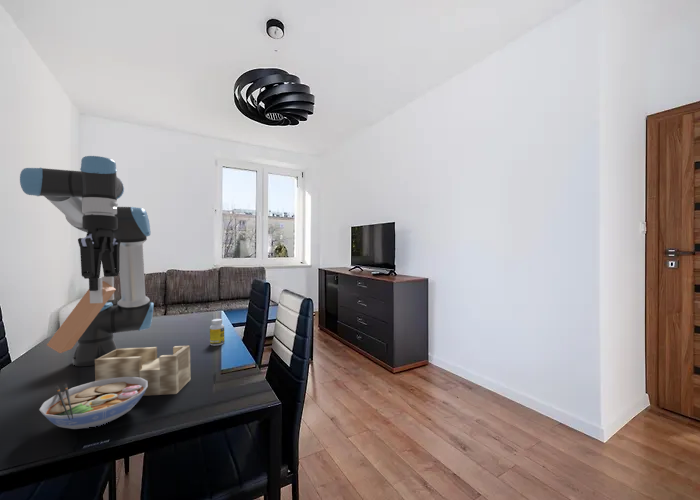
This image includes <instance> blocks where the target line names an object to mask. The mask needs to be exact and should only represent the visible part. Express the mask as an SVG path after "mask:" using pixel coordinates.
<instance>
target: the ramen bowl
mask: <svg viewBox="0 0 700 500" xmlns="http://www.w3.org/2000/svg"><path fill="white" fill-rule="evenodd" d="M147 387H148V381H147V380H145V379H142V378H139V377H118V378H109V379H104V380H99V381H95V380H94V381H90V382H87V383H83V384H80V385H77V386H74V387H71V388H69V387H68V383H64V384H63V388H64V391H61V389H60V387H59V385H55V389H56V392H57V393H56V394H55V395H53V396H52V397H50V398H48V399H46V400H44V402H43V403H42V404H41V406H40V408H38V411H40V412H41V414H42V415H43V416H44V417H45V418H46V419H47V420H48V421H49V422H50V423H51V424H53V425H55V426H57V427H59V428H63V429H70V430H79V429H90V428H89V427H95V428H97V427H96V426H98V427H101V425H102V426H104V425H106V423H107V424H108V422H109V423H111V422H112V421H114V420H117V419H118V418H120V417H122V416H123V415H125V414H127V413H128V412H130V411H131V410H132V409H133V408H134V407H135V405H137V404H138V403H139V401H140V400H141V399H142V397H144V396H143V394H144V393H145V391H146V389H147ZM68 388H69V389H68ZM103 424H104V425H103Z"/></svg>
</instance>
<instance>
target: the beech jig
mask: <svg viewBox="0 0 700 500" xmlns="http://www.w3.org/2000/svg"><path fill="white" fill-rule="evenodd" d="M94 375H95V376H94V379H95V380H94V381H99V380H104V379H109V378H118V377H139V378H142V379H145V380H147V381H148V387H147V389H146V391H145V393H144V394H143V396H142V397H145V396H160V395H162V396H163V395H165V396H166V395H177V394H178V393H179V392H180V391H181V390H182V389H183V388H184V387H185V386H186V385H187V384H188V383H189V382H190V381H191V376H192V374H191V346H190V345H174V346H173V347H172V354H162V355H159V357H158V346H151V347H150V346H149V347H145V346H144V347H124V348H123V347H122V348H117V349H116V350H114V351H112V352H110V353H108V354H106V355H104V356H102V357H100V358H98V359H96V360H95V365H94Z"/></svg>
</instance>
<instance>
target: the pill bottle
mask: <svg viewBox="0 0 700 500" xmlns="http://www.w3.org/2000/svg"><path fill="white" fill-rule="evenodd" d="M225 342H226V341H225V325H224V324H223V319H221V318H214V319H211V325H210V326H209V344H210V345H211V346H222V345H223V344H225Z"/></svg>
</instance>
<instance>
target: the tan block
mask: <svg viewBox="0 0 700 500" xmlns="http://www.w3.org/2000/svg"><path fill="white" fill-rule="evenodd" d="M102 287H103V303H90V290H89V288H88V289H87V291H86V292H85V293H84V295H83V296H82V298H80V300H79V301H78V303H76V305H75V306H74V307H73V309H72V311H71V312H70V313H69V314H68V316H67V317H66V319H64V321H63V323H62V324H61V325H60V326H59V328H58V329H57V330H56V332H55V333H54V335H53V336H52V337H51V339H50V340H49V341H48V342H47V343H46V346H47V347H49V348H51V350H54V351H55V352H57V353H58V354H63V353H64V352H65V353H66V352H68V351H69V350H72V349H73V348H74V346H76V344H77V343H78V340H79V338H80V337H81V336H82V334H83V333H84V332H85V330H86V329H87V328H88V326H89V325H90V324H91V322H92V321H93V320H94V318H95V317H96V316H97V314H98V313H99V312H100V310H101V309H102V308H103V306H104V305H105V304H106V303H107V302H109V301H110V300H109V298H110V297H111V296H112V294H113V293H114V294H115V292H116V290H117V289H116V288H115V286H114V287H112V286H111V285H109V284H108V283H106V282H105V281H102Z"/></svg>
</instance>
